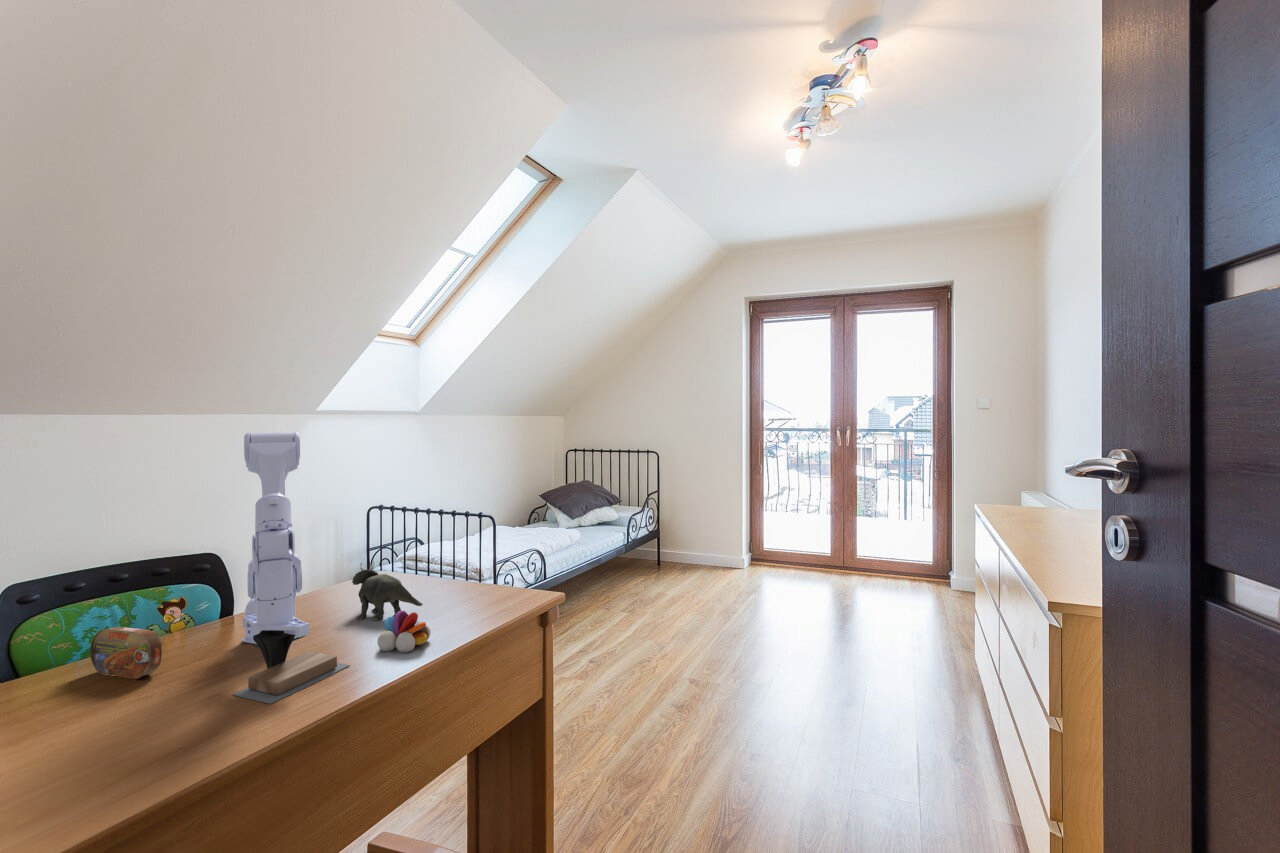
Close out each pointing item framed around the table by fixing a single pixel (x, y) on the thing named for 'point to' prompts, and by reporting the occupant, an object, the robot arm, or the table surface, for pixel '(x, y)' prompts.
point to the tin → (126, 652)
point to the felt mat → (273, 698)
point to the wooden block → (292, 672)
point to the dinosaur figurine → (380, 592)
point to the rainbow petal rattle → (403, 632)
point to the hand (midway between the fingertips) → (276, 670)
